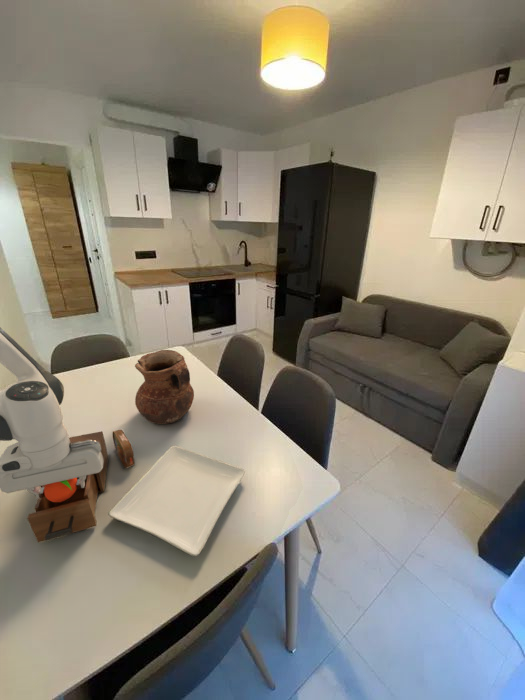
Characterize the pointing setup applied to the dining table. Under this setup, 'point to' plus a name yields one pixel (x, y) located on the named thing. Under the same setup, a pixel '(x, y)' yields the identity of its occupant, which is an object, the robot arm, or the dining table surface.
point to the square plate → (180, 498)
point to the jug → (164, 387)
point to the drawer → (66, 512)
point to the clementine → (60, 490)
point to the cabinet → (100, 438)
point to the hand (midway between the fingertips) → (62, 491)
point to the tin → (123, 448)
